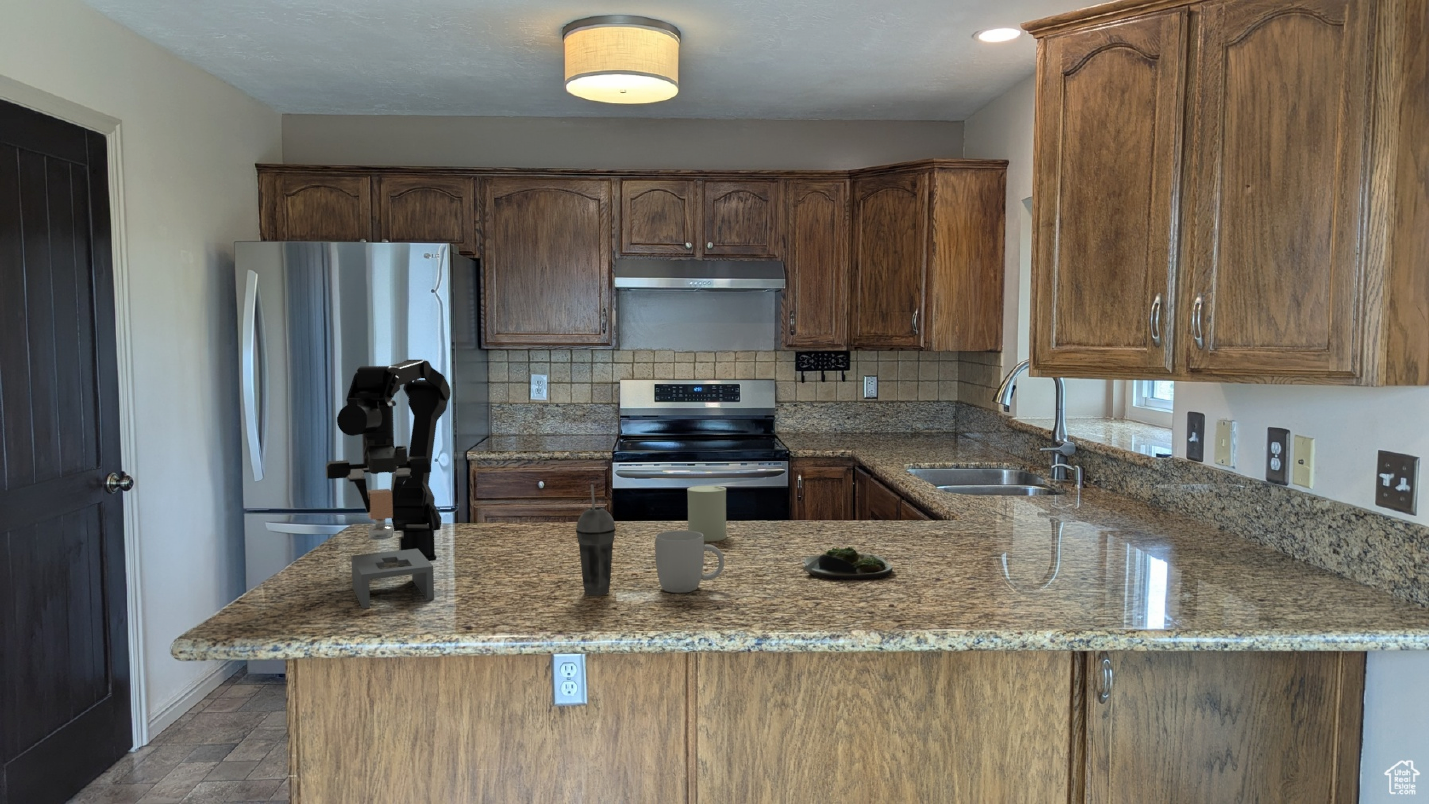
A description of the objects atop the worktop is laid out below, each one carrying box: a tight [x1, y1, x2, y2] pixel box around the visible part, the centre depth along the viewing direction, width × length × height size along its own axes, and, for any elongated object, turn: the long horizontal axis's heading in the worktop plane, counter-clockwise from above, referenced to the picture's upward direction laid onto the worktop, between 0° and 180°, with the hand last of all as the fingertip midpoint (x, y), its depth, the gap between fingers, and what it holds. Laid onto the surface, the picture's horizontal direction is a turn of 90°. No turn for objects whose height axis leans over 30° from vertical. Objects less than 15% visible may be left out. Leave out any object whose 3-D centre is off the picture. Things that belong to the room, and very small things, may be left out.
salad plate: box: [802, 546, 893, 581], centre depth 182 cm, size 19×18×5 cm
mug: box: [654, 530, 725, 594], centre depth 167 cm, size 13×9×10 cm
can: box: [686, 485, 728, 543], centre depth 211 cm, size 9×9×12 cm
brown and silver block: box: [367, 488, 394, 541], centre depth 176 cm, size 4×5×9 cm
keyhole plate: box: [351, 549, 435, 610], centre depth 166 cm, size 12×16×6 cm
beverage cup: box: [575, 484, 617, 597], centre depth 165 cm, size 7×7×20 cm
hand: (380, 511), depth 176 cm, fingers closed on brown and silver block, 4 cm apart
